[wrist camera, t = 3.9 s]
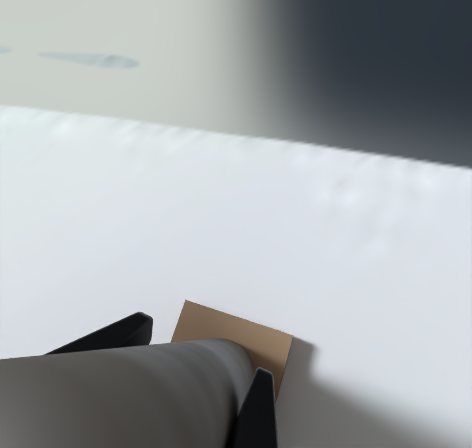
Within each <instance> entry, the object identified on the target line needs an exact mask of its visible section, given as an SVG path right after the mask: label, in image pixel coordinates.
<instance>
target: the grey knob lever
mask: <svg viewBox="0 0 472 448" xmlns="http://www.w3.org/2000/svg"><path fill="white" fill-rule="evenodd" d="M292 338H293V335H290V334H287V333H284V332H281V331H278V330H275V329H272V328H269V327H266V326H263V325H260V324H257V323H254V322H251V321H248V320H245V319H242V318H239V317H236V316H233V315H229V314H226V313H223V312H220V311H217V310H214V309H211V308H208V307H205V306H202V305H199V304H196V303H193V302H190V301H187V300H185V303H184V306H183V309H182V311H181V314H180V317H179V320H178V323H177V326H176V328H175V331H174V334H173V337H172V340H171V343H164V344H154V345H144V346H133V347H123V348H113V349H102V350H92V351H82V352H71V353H61V354H51V355H41V356H30V357H20V358H10V359H1V360H0V448H227V447H228V445H229V442H230V439H231V436H232V433H233V430H234V427H235V424H236V421H237V418H238V415H239V412H240V409H241V406H242V404H243V401H244V399H245V396H246V394H247V391H248V389H249V386H250V384H251V381H252V379H253V377H254V374H255V372H256V369H257V368H258V367H261V368H263V369H265V370H267V371H270V372H271V373H272V374H273V379H274V393H275V403H276V400H277V396H278V392H279V388H280V384H281V380H282V377H283V373H284V369H285V365H286V361H287V357H288V354H289V350H290V346H291V342H292Z"/></svg>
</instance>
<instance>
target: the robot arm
mask: <svg viewBox="0 0 472 448" xmlns="http://www.w3.org/2000/svg"><path fill="white" fill-rule="evenodd" d="M152 327H153V319H152V317H151V316H149V315H147V314H144V313H142V312H137V313H135V314H132V315H130V316H128V317H126V318H124V319H121V320H119V321H117V322H115V323H113V324H110V325H108V326H106V327H104V328H102V329H99V330H97V331H95V332H93V333H91V334H88V335H86V336H84V337H82V338H80V339H77V340H75V341H73V342H71V343H69V344H66V345H64V346H62V347H60V348H58V349H55V350H53V351H51V352H49V353H47V354H44V355H51V354H61V353H71V352H82V351H92V350H102V349H113V348H123V347H133V346H144V345H149V343H150V341H151V337H152ZM227 448H278V436H277V422H276V408H275V393H274V379H273V374H272V373H271V372H270V371H267V370H265V369H263V368H261V367H258V368H257V369H256V372H255V374H254V377H253V379H252V381H251V384H250V386H249V389H248V391H247V394H246V396H245V399H244V401H243V404H242V406H241V409H240V412H239V415H238V418H237V421H236V424H235V427H234V430H233V433H232V436H231V439H230V442H229V445H228V447H227Z"/></svg>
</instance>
